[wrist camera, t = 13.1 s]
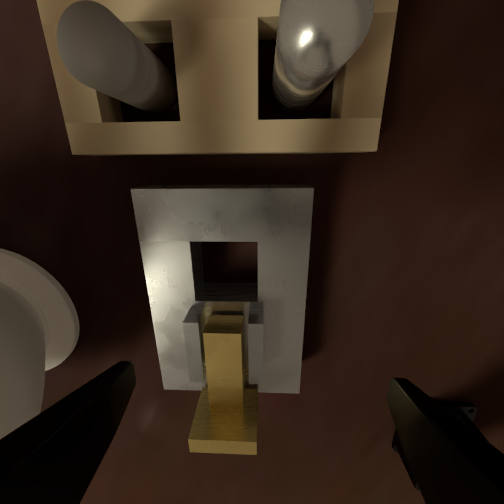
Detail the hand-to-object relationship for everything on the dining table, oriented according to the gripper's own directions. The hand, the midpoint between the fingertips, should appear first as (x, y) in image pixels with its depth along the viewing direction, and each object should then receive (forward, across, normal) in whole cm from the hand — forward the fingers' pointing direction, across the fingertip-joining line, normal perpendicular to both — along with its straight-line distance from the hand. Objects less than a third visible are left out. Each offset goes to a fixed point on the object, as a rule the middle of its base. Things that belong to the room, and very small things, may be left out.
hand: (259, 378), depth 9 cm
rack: (+11, +3, -12) cm, 17 cm away
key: (+8, +2, +7) cm, 11 cm away
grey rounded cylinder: (+11, -2, -12) cm, 16 cm away
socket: (+12, +2, +3) cm, 12 cm away
